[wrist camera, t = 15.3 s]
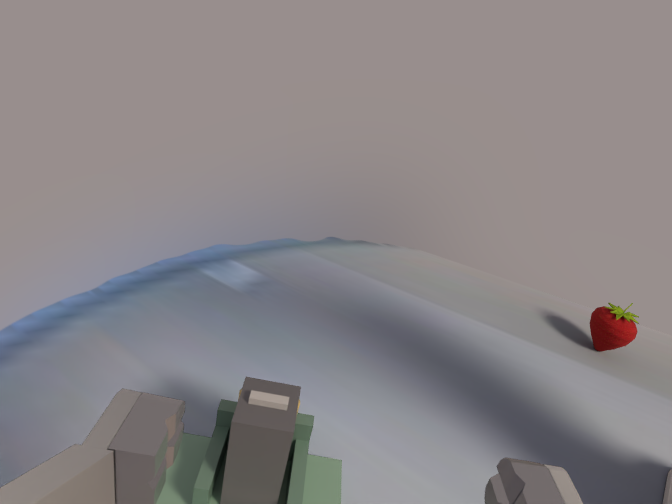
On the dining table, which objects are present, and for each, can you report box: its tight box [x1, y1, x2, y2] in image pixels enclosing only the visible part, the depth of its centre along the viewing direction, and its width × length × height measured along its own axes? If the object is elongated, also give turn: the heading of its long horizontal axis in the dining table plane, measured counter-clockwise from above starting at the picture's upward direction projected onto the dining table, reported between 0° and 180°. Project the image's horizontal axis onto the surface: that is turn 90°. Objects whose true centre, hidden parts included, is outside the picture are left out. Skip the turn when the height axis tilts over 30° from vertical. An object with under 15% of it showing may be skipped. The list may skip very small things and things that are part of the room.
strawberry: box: [590, 303, 639, 351], centre depth 70 cm, size 6×8×10 cm
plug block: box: [220, 377, 301, 504], centre depth 35 cm, size 5×5×11 cm
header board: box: [156, 389, 342, 504], centre depth 34 cm, size 12×16×8 cm
